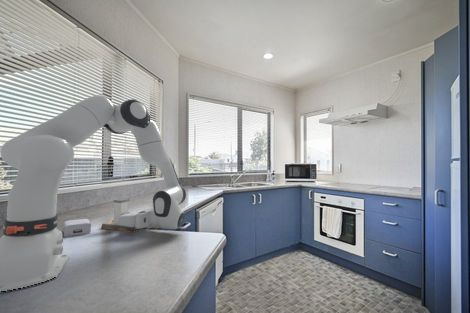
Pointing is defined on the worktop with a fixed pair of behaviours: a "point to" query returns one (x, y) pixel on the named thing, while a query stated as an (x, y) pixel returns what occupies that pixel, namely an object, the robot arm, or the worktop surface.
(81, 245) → the worktop surface
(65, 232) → the charger
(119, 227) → the track
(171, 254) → the worktop surface
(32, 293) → the worktop surface
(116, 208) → the white upright block
